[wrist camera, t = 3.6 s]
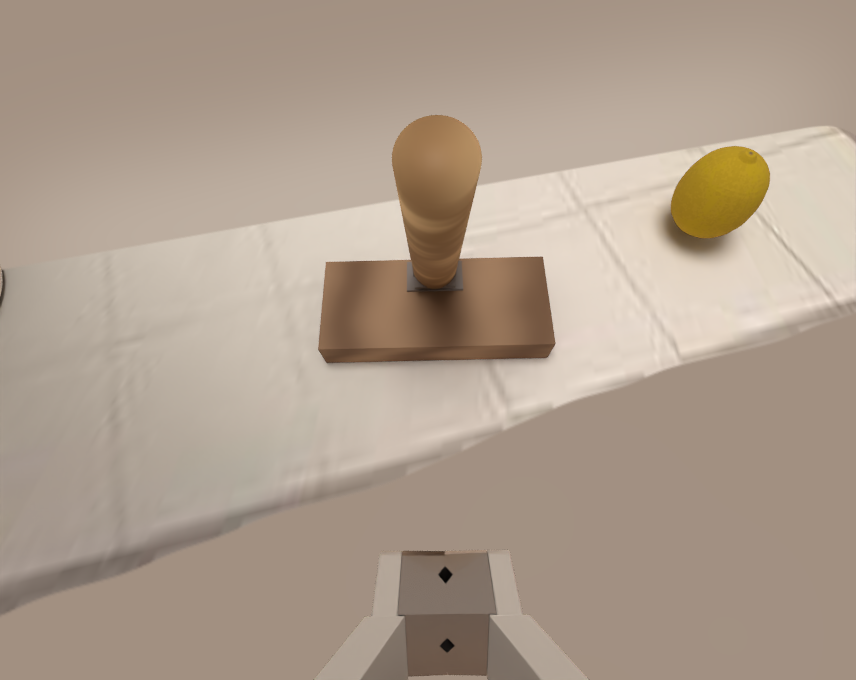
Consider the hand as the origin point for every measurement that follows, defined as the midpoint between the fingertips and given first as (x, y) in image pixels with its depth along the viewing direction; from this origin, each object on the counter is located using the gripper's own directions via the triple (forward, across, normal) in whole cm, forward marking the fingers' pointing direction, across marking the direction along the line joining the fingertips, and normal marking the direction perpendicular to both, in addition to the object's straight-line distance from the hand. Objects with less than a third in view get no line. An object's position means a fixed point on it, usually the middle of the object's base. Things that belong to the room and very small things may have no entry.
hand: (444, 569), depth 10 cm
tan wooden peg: (+23, 0, -2) cm, 23 cm away
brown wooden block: (+24, 0, +2) cm, 24 cm away
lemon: (+30, -21, -4) cm, 37 cm away
